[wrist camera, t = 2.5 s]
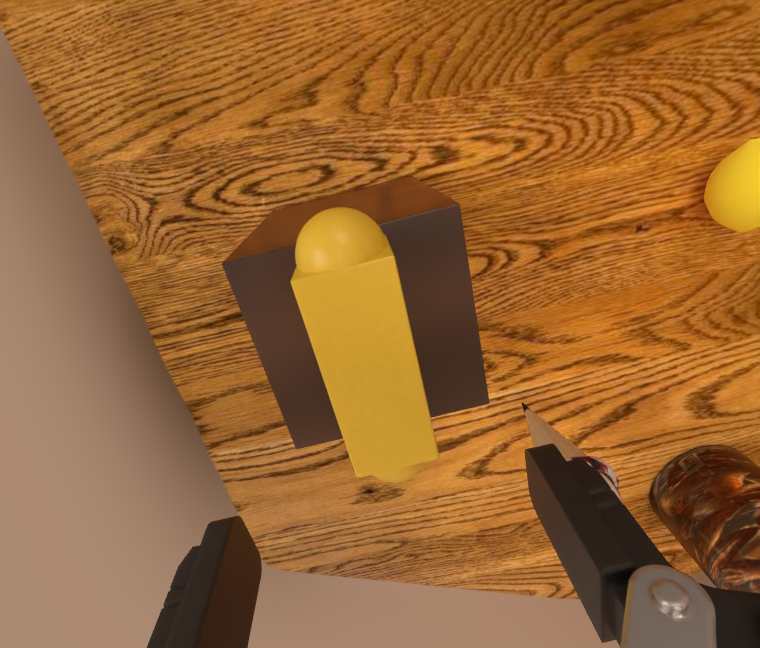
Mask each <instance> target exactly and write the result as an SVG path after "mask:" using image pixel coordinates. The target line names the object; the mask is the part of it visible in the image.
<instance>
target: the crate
mask: <svg viewBox="0 0 760 648" xmlns="http://www.w3.org/2000/svg"><path fill="white" fill-rule="evenodd" d="M335 207H346V208H352V209H356V210H358V211H361V212H363V213H365V214H366V215H368V216H369V217H370V218H372V219H373V220H374V221H375V222H376V223H377V225H378V226H379V227H380V229H381V230H382V232H383V234H384V235H386V237H387V239H388V242H389V244H390V247H391V249H392V251H393V254H394V256H395V260H396V265H397V269H398V274H399V278H400V283H401V287H402V292H403V296H404V301H405V305H406V310H407V314H408V318H409V323H410V327H411V332H412V336H413V341H414V345H415V350H416V354H417V359H418V363H419V368H420V372H421V377H422V381H423V386H424V390H425V395H426V399H427V403H428V408H429V412H430V417H435V416H439V415H443V414H447V413H452V412H456V411H460V410H464V409H468V408H473V407H477V406H481V405H485V404H489V397H488V391H487V384H486V377H485V371H484V364H483V357H482V351H481V344H480V337H479V331H478V324H477V317H476V311H475V304H474V297H473V291H472V284H471V277H470V271H469V264H468V257H467V251H466V244H465V237H464V231H463V224H462V217H461V211H460V205H459V204H458V203H457V202H455V201H453V200H452V199H450V198H448V197H447V196H445V195H443V194H441V193H440V192H438V191H436V190H435V189H433V188H431V187H430V186H428V185H426V184H425V183H423V182H421V181H419V180H418V179H416V178H414V177H413V176H408V177H404V178H400V179H396V180H392V181H388V182H384V183H380V184H376V185H372V186H368V187H364V188H360V189H356V190H352V191H349V192H345V193H341V194H337V195H333V196H329V197H325V198H321V199H317V200H313V201H309V202H305V203H301V204H297V205H293V206H289V207H285V208H281V209H277V210H274V211H272V212H271V214H270V215H269V216H268V217H267V218H266V219H265V220H264V221H263V222H262V223H261V224H260V225H259V226H258V227H257V228H256V229H255V230H254V231H253V232H252V233H251V234H250V235H249V236H248V237H247V238H246V239H245V240H244V241H243V242H242V243H241V244H240V245H239V246H238V247H237V248H236V249H235V250H234V251H233V252H232V253H231V254H230V255H229V257H228V258H227V259H226V260H225V261H224V262H223V263H222V265H223V268H224V270H225V273H226V275H227V278H228V280H229V283H230V285H231V288H232V290H233V293H234V295H235V298H236V300H237V303H238V305H239V308H240V310H241V313H242V315H243V318H244V320H245V323H246V325H247V328H248V330H249V333H250V335H251V338H252V340H253V343H254V345H255V348H256V350H257V353H258V355H259V358H260V360H261V363H262V365H263V368H264V370H265V372H266V375H267V377H268V380H269V382H270V385H271V387H272V390H273V392H274V395H275V397H276V400H277V402H278V405H279V407H280V410H281V412H282V415H283V417H284V420H285V422H286V425H287V427H288V430H289V432H290V435H291V437H292V440H293V442H294V445H295V447H296V449H300V448H304V447H308V446H313V445H317V444H321V443H325V442H329V441H334V440H338V439H342V438H343V436H342V433H341V430H340V427H339V424H338V421H337V418H336V415H335V412H334V409H333V406H332V403H331V400H330V398H329V395H328V392H327V389H326V386H325V383H324V380H323V377H322V374H321V371H320V368H319V365H318V362H317V359H316V356H315V353H314V350H313V347H312V344H311V341H310V338H309V335H308V332H307V329H306V326H305V324H304V321H303V318H302V315H301V312H300V309H299V306H298V303H297V300H296V297H295V294H294V291H293V288H292V285H291V279H292V276H293V274H294V271H295V269H296V266H297V265H296V260H295V248H296V242H297V239H298V236H299V234H300V232H301V230H302V228H303V227H304V225H305V224H306V223H307V222H308V221H309V220H310V219H311V218H312V217H313V216H315V215H316V214H318V213H320V212H322V211H324V210H327V209H330V208H335Z"/></svg>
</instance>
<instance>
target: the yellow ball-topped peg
mask: <svg viewBox="0 0 760 648" xmlns="http://www.w3.org/2000/svg"><path fill="white" fill-rule="evenodd" d="M295 260H296V265H297V266H296V269H295V271H294V274H293V276H292V279H291V285H292V288H293V291H294V294H295V297H296V300H297V303H298V306H299V309H300V312H301V315H302V318H303V321H304V324H305V326H306V329H307V332H308V335H309V338H310V341H311V344H312V347H313V350H314V353H315V356H316V359H317V362H318V365H319V368H320V371H321V374H322V377H323V380H324V383H325V386H326V389H327V392H328V395H329V398H330V400H331V403H332V406H333V409H334V412H335V415H336V418H337V421H338V424H339V427H340V430H341V433H342V436H343V439H344V442H345V445H346V448H347V451H348V454H349V457H350V460H351V463H352V466H353V469H354V471H355V474H356V477H357V478H360V477H365V476H369V475H373V476H374V477H376V478H378V479H380V480H382V481H386V482H391V483H398V482H404V481H407V480H409V479H411V478H413V477H415V476H416V475H417V474H419V473H420V472H421V471H422V469H423V468H424V467H425V465H426V464H427V462H429V461H433V460H437V459H439V453H438V448H437V444H436V439H435V435H434V430H433V426H432V421H431V417H430V412H429V408H428V403H427V399H426V395H425V390H424V386H423V381H422V377H421V372H420V368H419V363H418V359H417V354H416V350H415V345H414V341H413V336H412V332H411V327H410V323H409V318H408V314H407V310H406V305H405V301H404V296H403V292H402V287H401V283H400V278H399V274H398V269H397V265H396V260H395V256H394V254H393V251H392V249H391V247H390V244H389V242H388V239H387V237H386V235H384V234H383V232H382V230H381V229H380V227H379V226H378V225H377V223H376V222H375V221H374V220H373V219H372V218H370V217H369V216H368V215H366V214H365V213H363V212H361V211H358V210H356V209H352V208H346V207H335V208H330V209H327V210H324V211H322V212H320V213H318V214H316V215H315V216H313V217H312V218H311V219H310V220H309V221H308V222H307V223H306V224H305V225H304V227H303V228H302V230H301V232H300V234H299V236H298V239H297V242H296V248H295Z"/></svg>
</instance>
